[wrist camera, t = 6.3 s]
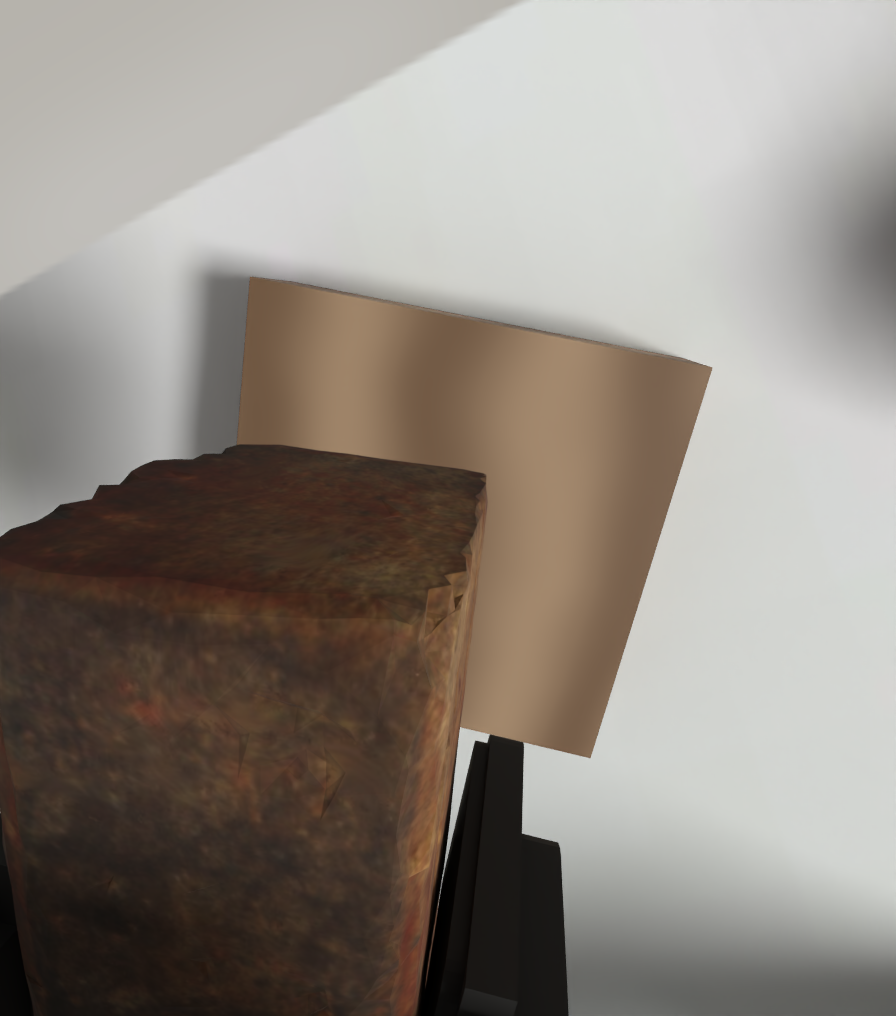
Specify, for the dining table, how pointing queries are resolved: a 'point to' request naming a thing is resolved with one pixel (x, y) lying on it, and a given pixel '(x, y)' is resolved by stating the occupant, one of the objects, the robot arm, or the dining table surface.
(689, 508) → the dining table surface
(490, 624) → the walnut base block
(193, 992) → the brick
